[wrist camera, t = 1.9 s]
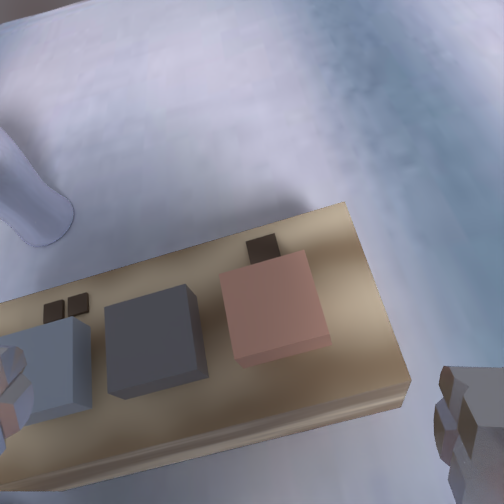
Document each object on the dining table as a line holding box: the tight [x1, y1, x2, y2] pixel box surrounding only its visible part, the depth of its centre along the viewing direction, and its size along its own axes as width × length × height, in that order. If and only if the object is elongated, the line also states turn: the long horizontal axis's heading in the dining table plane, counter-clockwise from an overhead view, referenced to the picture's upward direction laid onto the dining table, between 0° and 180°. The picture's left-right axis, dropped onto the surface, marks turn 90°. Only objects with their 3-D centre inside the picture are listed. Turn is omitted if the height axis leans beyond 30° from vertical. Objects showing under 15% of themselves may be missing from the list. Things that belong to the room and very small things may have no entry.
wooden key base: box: [0, 202, 411, 491], centre depth 32 cm, size 12×26×9 cm, turn 101°
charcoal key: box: [104, 284, 209, 400], centre depth 26 cm, size 5×5×2 cm
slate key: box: [0, 316, 92, 427], centre depth 27 cm, size 5×5×2 cm
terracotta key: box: [219, 250, 332, 368], centre depth 25 cm, size 5×5×2 cm
